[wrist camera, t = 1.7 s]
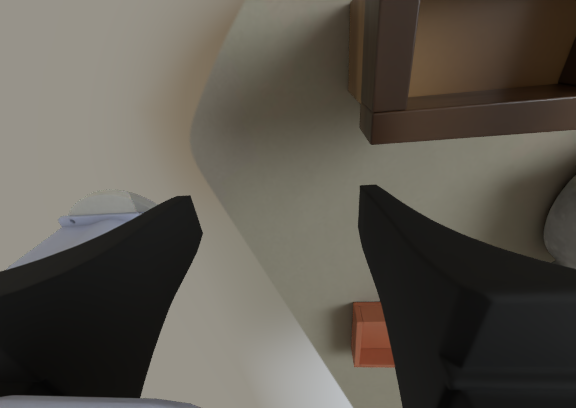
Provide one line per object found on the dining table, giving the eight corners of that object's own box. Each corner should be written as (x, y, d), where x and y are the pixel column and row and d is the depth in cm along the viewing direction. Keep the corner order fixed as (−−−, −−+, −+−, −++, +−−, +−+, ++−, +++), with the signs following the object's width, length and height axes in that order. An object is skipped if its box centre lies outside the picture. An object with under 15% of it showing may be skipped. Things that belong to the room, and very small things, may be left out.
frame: (359, 128, 12) (370, 145, 10) (366, -47, 9) (384, -74, 7) (575, 111, 11) (636, 125, 9) (665, -91, 8) (788, -138, 6)
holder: (351, 347, 34) (354, 367, 32) (353, 302, 29) (356, 322, 27) (447, 347, 33) (457, 368, 30) (464, 300, 28) (477, 321, 26)
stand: (348, 91, 18) (371, 116, 12) (349, 1, 16) (380, -30, 9) (470, 80, 17) (567, 100, 11) (493, -17, 15) (638, -66, 8)
